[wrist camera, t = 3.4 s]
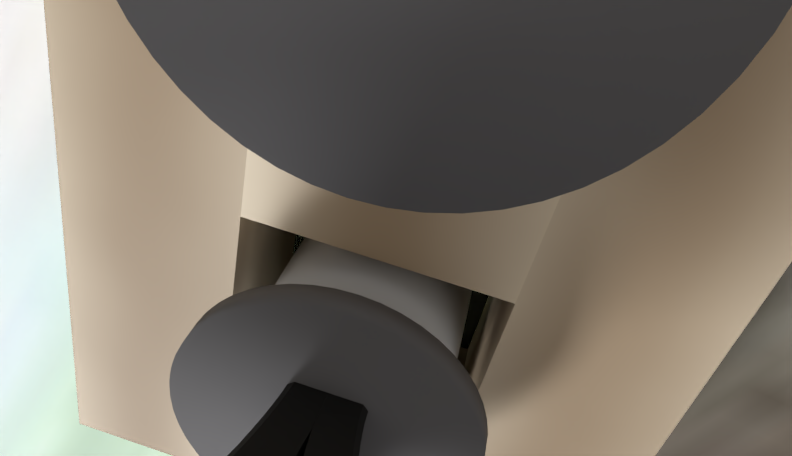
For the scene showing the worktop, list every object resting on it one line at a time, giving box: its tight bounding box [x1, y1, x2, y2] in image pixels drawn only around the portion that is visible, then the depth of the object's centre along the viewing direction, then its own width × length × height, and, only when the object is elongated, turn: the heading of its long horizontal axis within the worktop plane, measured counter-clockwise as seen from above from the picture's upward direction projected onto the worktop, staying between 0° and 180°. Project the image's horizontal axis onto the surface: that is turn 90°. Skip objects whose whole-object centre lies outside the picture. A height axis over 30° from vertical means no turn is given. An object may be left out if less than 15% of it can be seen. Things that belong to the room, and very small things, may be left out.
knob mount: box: [44, 0, 792, 456], centre depth 12 cm, size 12×19×4 cm, turn 168°
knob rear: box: [169, 237, 488, 456], centre depth 14 cm, size 6×6×4 cm
